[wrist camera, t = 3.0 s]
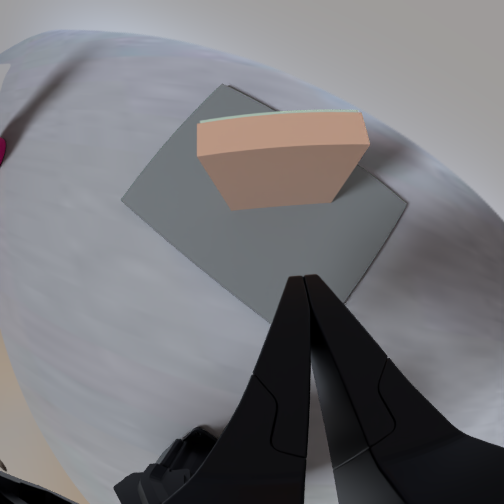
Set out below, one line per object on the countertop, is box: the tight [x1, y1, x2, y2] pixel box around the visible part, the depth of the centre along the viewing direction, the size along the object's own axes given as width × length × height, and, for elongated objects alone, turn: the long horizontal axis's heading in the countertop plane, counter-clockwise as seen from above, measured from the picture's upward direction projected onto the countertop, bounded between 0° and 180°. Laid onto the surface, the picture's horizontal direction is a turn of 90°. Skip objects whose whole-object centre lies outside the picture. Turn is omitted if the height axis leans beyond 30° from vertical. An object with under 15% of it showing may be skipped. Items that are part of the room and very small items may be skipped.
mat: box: [121, 84, 407, 324], centre depth 20 cm, size 18×13×1 cm
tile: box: [197, 110, 370, 211], centre depth 15 cm, size 2×7×9 cm, turn 94°
